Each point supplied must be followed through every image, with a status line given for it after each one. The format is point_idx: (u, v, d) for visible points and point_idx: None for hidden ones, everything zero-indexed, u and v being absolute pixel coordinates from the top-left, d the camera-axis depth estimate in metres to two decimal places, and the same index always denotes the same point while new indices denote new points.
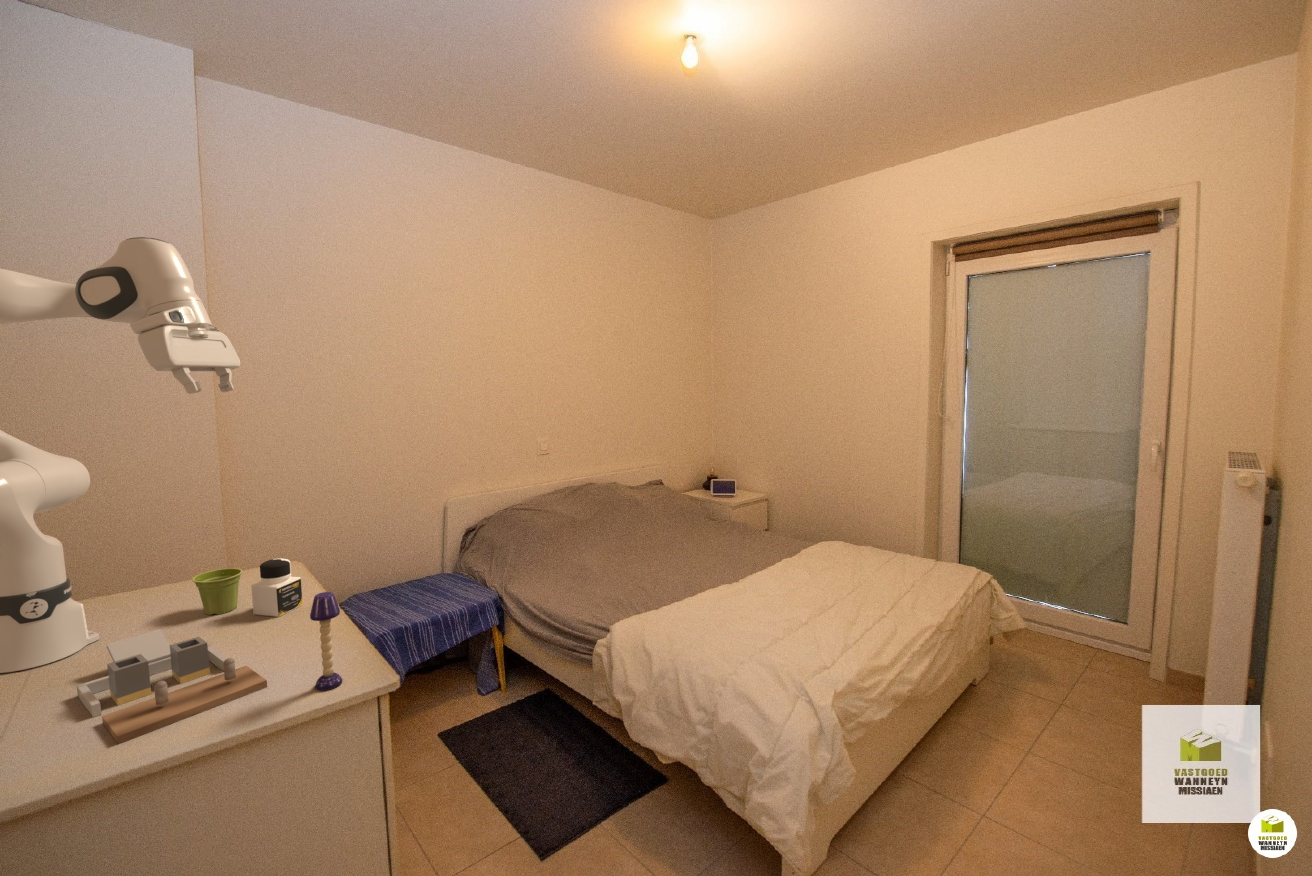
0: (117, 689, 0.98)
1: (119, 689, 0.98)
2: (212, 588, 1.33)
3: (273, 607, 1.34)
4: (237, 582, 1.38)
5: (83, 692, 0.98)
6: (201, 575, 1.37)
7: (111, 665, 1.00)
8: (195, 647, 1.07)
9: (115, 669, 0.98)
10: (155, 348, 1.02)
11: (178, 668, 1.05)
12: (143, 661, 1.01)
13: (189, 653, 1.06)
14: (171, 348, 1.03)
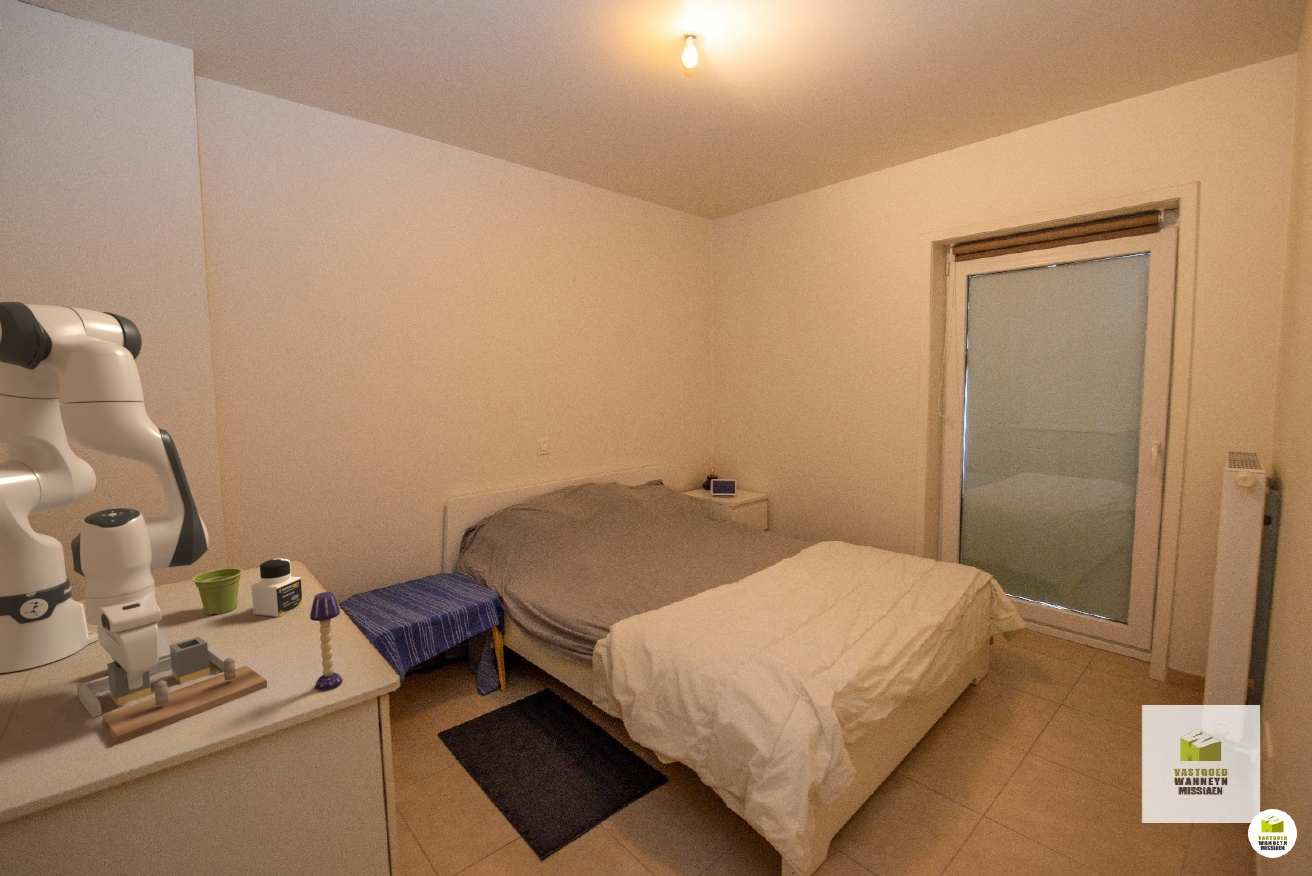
0: (117, 689, 0.98)
1: (119, 689, 0.98)
2: (212, 588, 1.33)
3: (273, 607, 1.34)
4: (237, 582, 1.38)
5: (83, 692, 0.98)
6: (201, 575, 1.37)
7: (111, 665, 1.00)
8: (195, 647, 1.07)
9: (115, 669, 0.98)
10: (144, 651, 0.95)
11: (178, 668, 1.05)
12: None
13: (189, 653, 1.06)
14: None
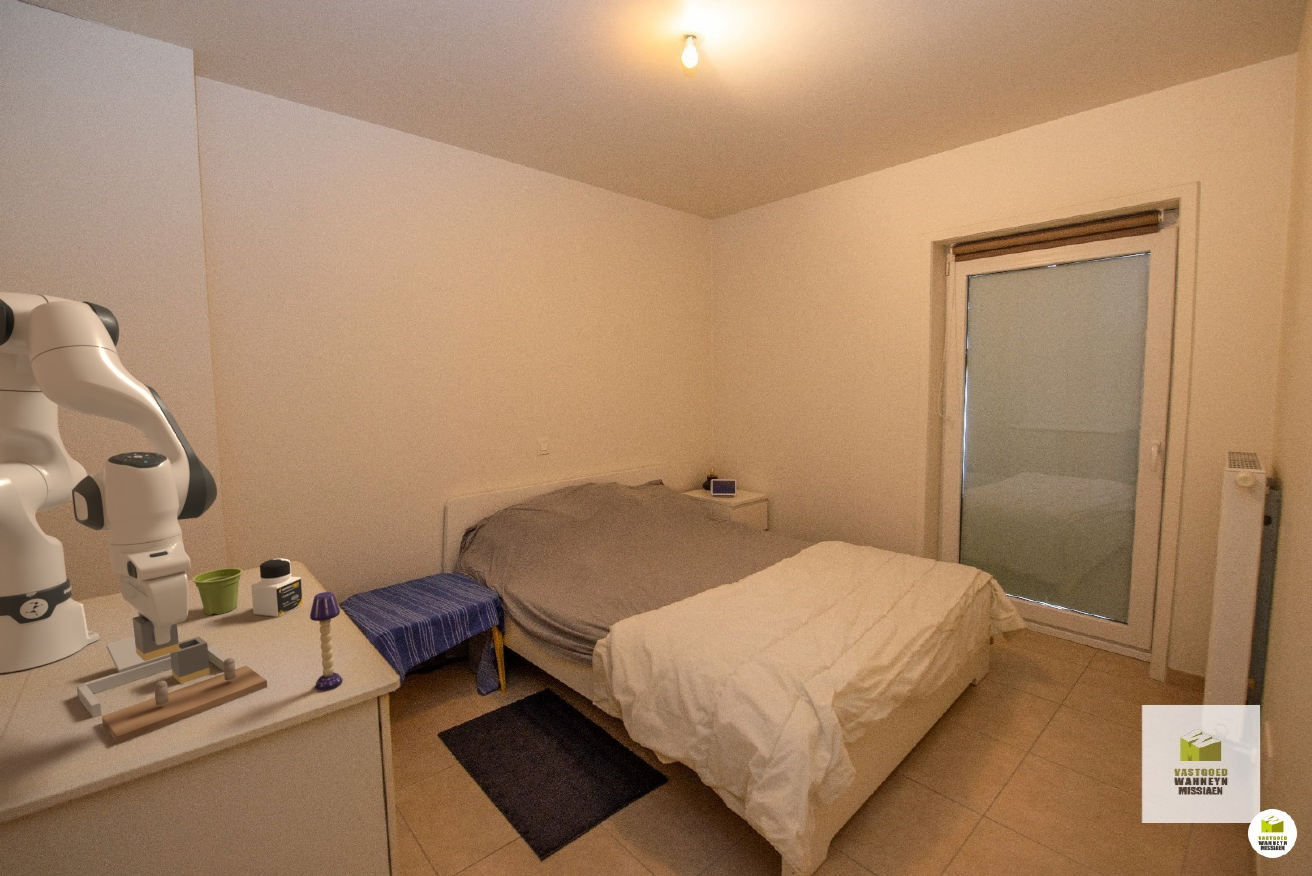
0: (144, 644, 0.91)
1: (146, 644, 0.92)
2: (212, 588, 1.33)
3: (273, 607, 1.34)
4: (237, 582, 1.38)
5: (83, 692, 0.98)
6: (201, 575, 1.37)
7: (137, 619, 0.93)
8: (195, 647, 1.07)
9: (141, 622, 0.92)
10: (174, 602, 0.88)
11: (178, 668, 1.05)
12: None
13: (189, 653, 1.06)
14: None
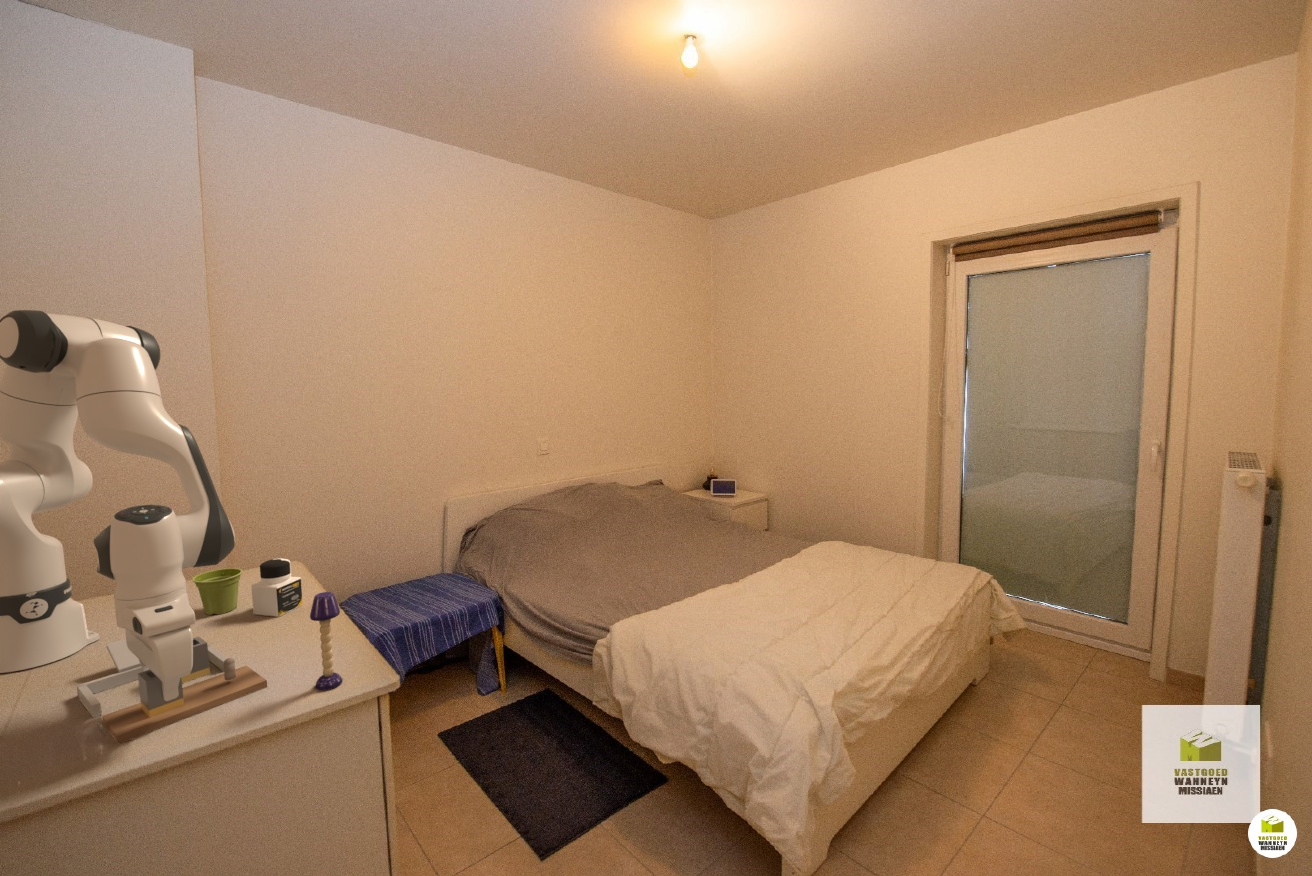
0: (149, 700, 0.92)
1: (151, 700, 0.93)
2: (212, 588, 1.33)
3: (273, 607, 1.34)
4: (237, 582, 1.38)
5: (83, 692, 0.98)
6: (201, 575, 1.37)
7: (142, 675, 0.94)
8: (195, 647, 1.07)
9: (147, 679, 0.93)
10: (178, 657, 0.89)
11: None
12: None
13: None
14: None
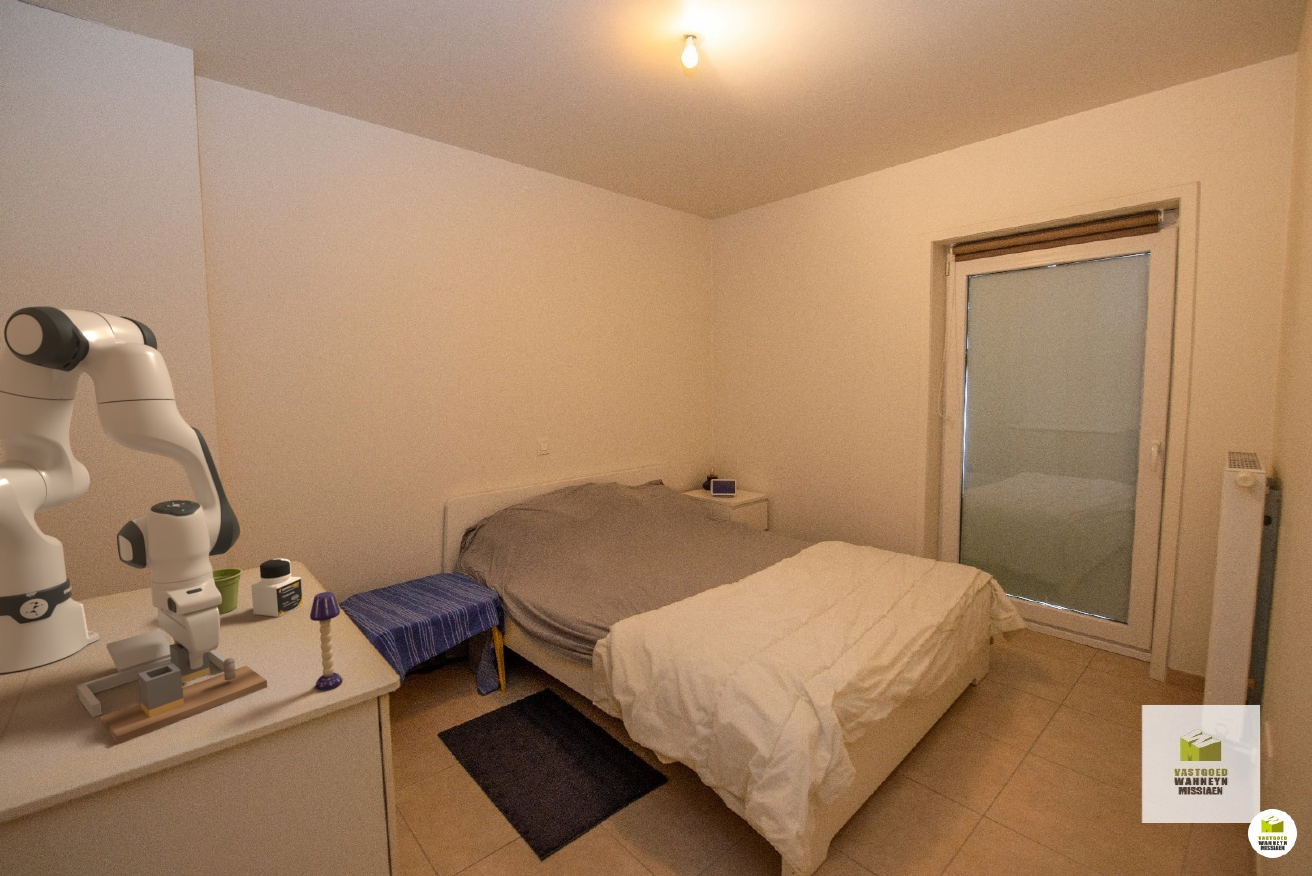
0: (149, 700, 0.92)
1: (151, 700, 0.93)
2: None
3: (273, 607, 1.34)
4: (237, 582, 1.38)
5: (83, 692, 0.98)
6: None
7: (142, 675, 0.94)
8: None
9: (147, 679, 0.93)
10: (207, 633, 1.01)
11: None
12: (175, 670, 0.95)
13: None
14: None
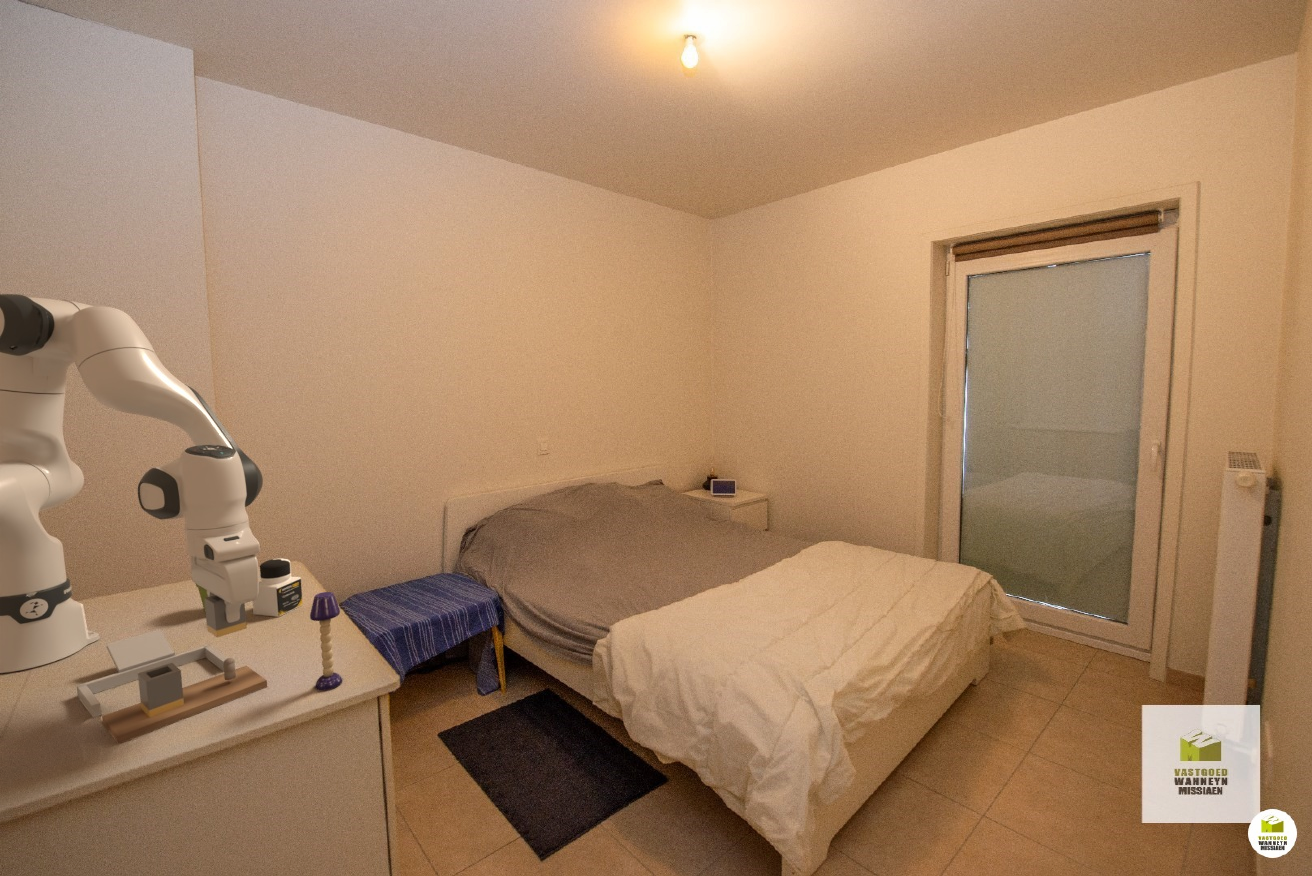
0: (149, 700, 0.92)
1: (151, 700, 0.93)
2: None
3: (273, 607, 1.34)
4: None
5: (83, 692, 0.98)
6: None
7: (142, 675, 0.94)
8: None
9: (147, 679, 0.93)
10: (246, 582, 0.96)
11: (214, 621, 0.99)
12: (175, 670, 0.95)
13: (225, 606, 1.00)
14: None
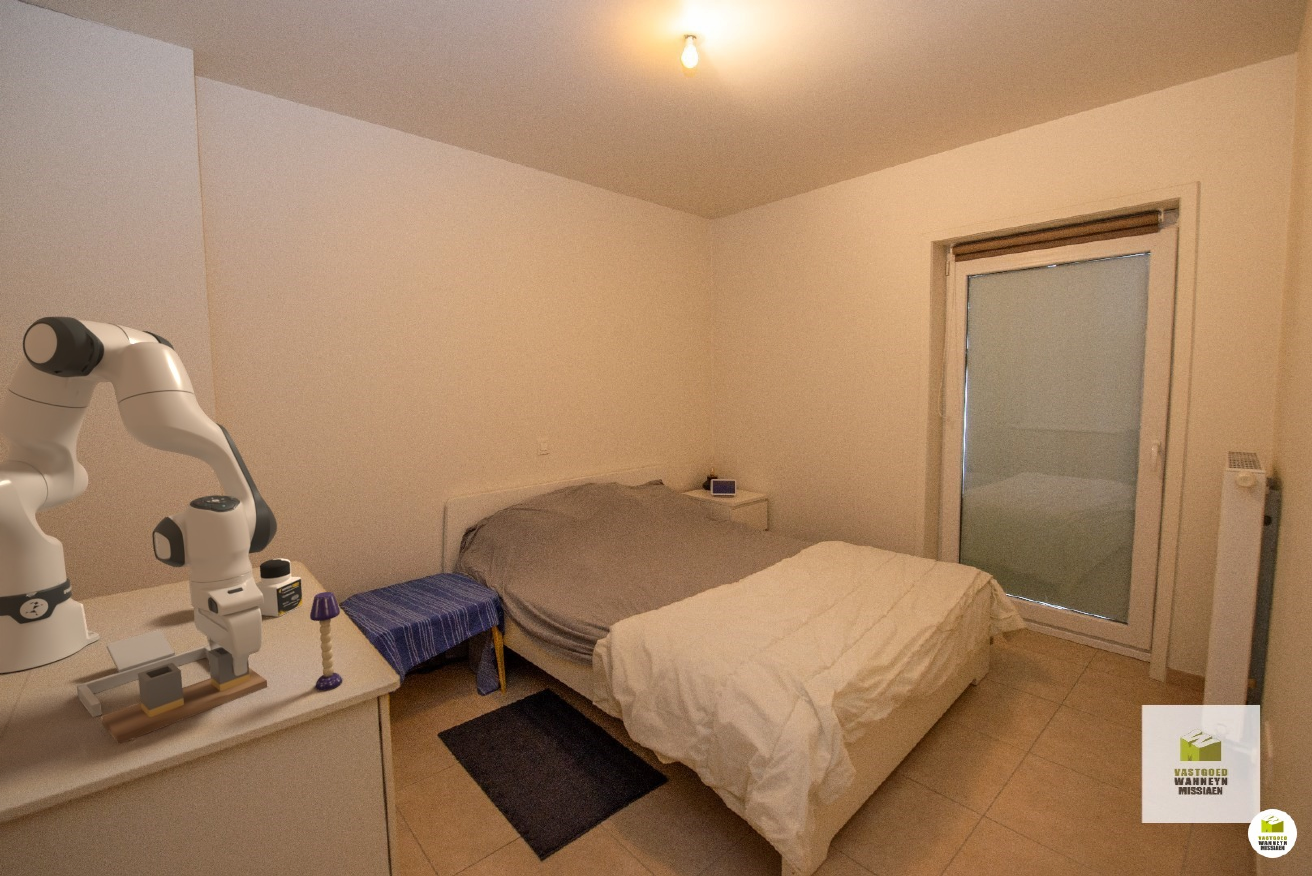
0: (149, 700, 0.92)
1: (151, 700, 0.93)
2: None
3: (273, 607, 1.34)
4: None
5: (83, 692, 0.98)
6: None
7: (142, 675, 0.94)
8: None
9: (147, 679, 0.93)
10: (250, 634, 0.97)
11: (218, 675, 1.00)
12: (175, 670, 0.95)
13: (229, 659, 1.01)
14: None
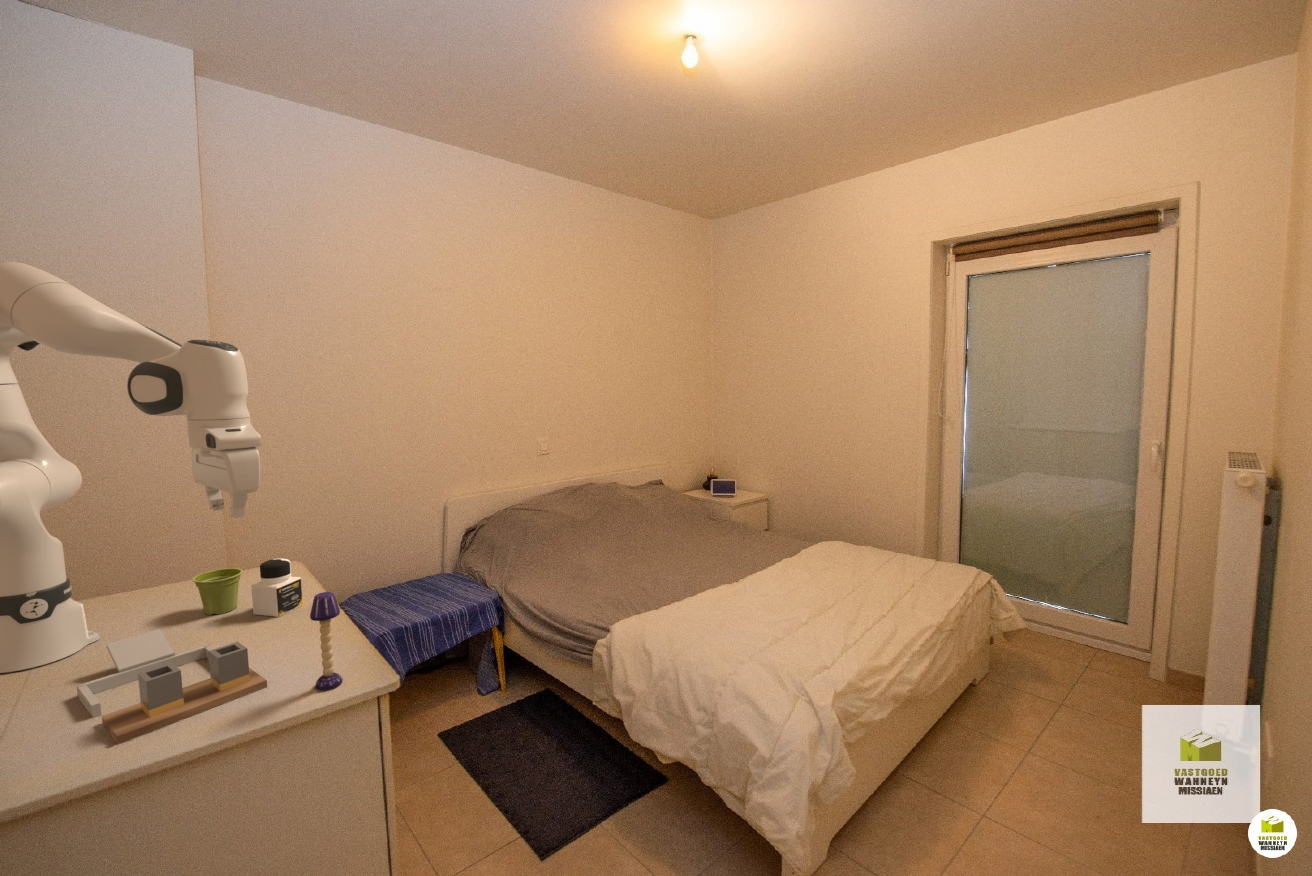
0: (149, 700, 0.92)
1: (151, 700, 0.93)
2: (212, 588, 1.33)
3: (273, 607, 1.34)
4: (237, 582, 1.38)
5: (83, 692, 0.98)
6: (201, 575, 1.37)
7: (142, 675, 0.94)
8: (236, 653, 1.02)
9: (147, 679, 0.93)
10: (248, 472, 0.96)
11: (218, 675, 1.00)
12: (175, 670, 0.95)
13: (229, 659, 1.01)
14: None
